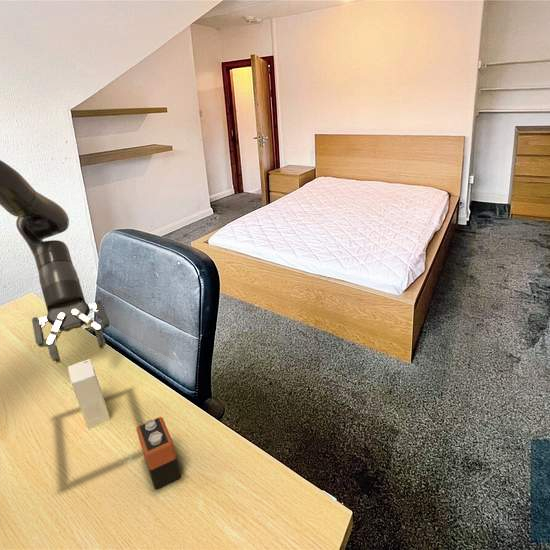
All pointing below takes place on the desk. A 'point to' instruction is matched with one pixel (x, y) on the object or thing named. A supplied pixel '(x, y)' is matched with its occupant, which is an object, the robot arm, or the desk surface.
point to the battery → (159, 452)
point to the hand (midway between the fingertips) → (80, 354)
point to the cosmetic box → (88, 393)
